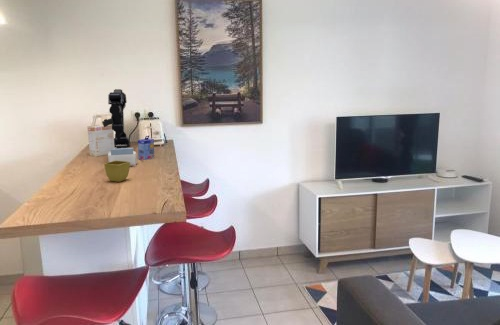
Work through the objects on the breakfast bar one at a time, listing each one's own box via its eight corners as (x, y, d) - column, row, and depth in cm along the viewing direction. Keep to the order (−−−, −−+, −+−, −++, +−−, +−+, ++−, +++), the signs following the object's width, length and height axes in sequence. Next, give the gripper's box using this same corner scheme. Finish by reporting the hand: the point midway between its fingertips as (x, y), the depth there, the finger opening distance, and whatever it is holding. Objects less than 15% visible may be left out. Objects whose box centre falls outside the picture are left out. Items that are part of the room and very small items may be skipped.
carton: (109, 162, 243) (108, 152, 242) (135, 161, 248) (135, 150, 246) (108, 166, 231) (108, 155, 230) (136, 165, 236) (136, 153, 235)
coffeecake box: (109, 152, 280) (106, 124, 276) (115, 153, 276) (113, 124, 272) (89, 155, 268) (86, 126, 264) (95, 156, 264) (93, 126, 260)
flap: (111, 154, 230) (110, 148, 224) (133, 153, 234) (133, 147, 228) (111, 155, 230) (110, 149, 224) (133, 154, 233) (133, 148, 227)
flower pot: (131, 179, 201) (130, 161, 199) (120, 183, 193) (119, 164, 191) (116, 178, 204) (115, 160, 202) (104, 182, 196) (103, 163, 194)
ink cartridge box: (145, 160, 250) (144, 136, 247) (138, 159, 252) (136, 136, 250) (155, 157, 259) (153, 134, 256) (147, 157, 261) (146, 134, 258)
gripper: (102, 113, 248) (104, 138, 251) (101, 115, 230) (103, 142, 233) (122, 112, 251) (123, 138, 254) (122, 114, 234) (124, 142, 237)
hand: (118, 140), depth 245 cm, fingers closed
